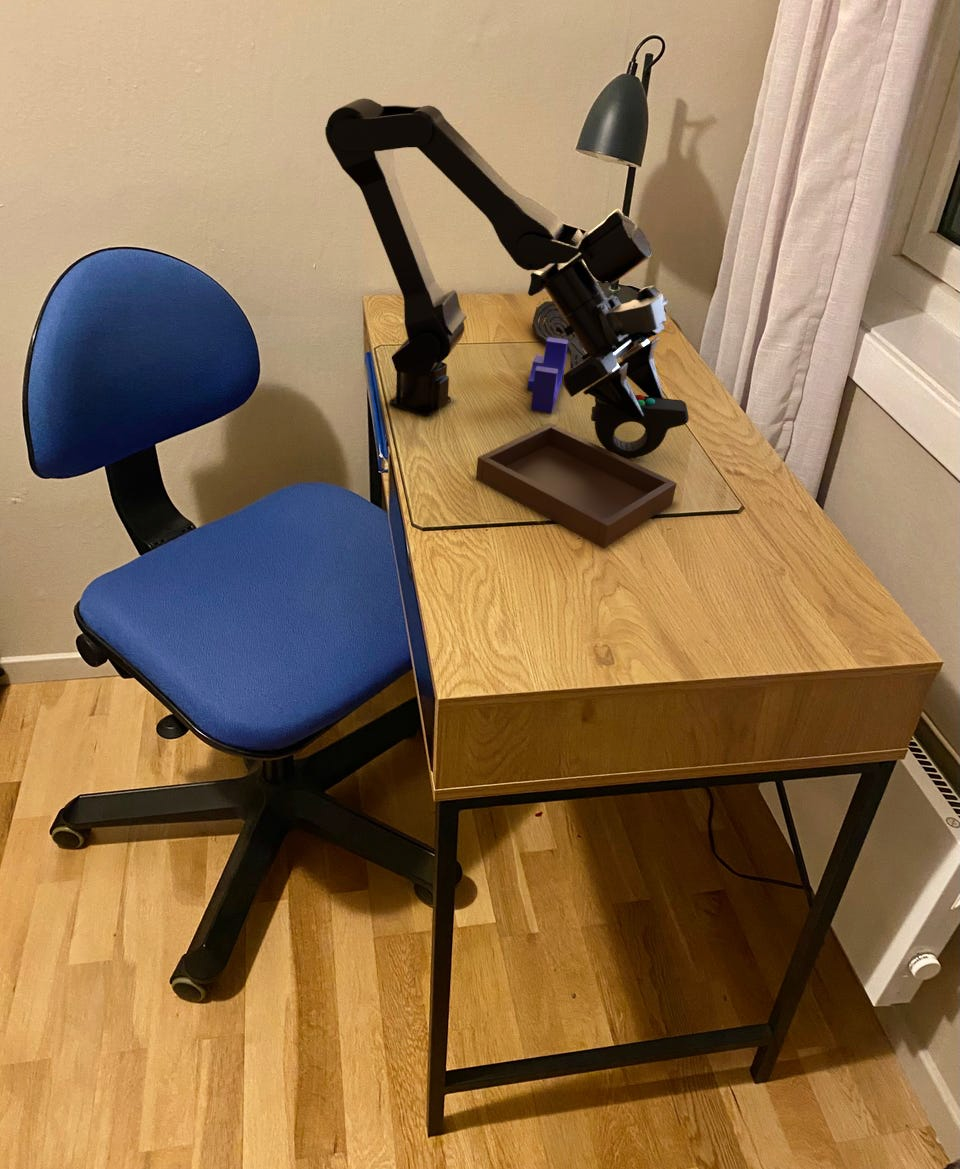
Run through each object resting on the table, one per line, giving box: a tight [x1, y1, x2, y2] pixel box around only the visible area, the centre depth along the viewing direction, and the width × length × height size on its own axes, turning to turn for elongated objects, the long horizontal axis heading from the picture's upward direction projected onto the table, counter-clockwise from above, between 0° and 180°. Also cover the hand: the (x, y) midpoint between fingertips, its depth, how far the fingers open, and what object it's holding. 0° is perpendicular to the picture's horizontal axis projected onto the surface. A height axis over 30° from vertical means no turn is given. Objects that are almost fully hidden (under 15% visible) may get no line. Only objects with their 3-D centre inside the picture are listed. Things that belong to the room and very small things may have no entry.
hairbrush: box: [531, 297, 586, 370], centre depth 151 cm, size 8×4×25 cm
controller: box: [590, 394, 690, 459], centre depth 123 cm, size 4×12×10 cm, turn 86°
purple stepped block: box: [527, 337, 568, 414], centre depth 138 cm, size 12×4×6 cm, turn 169°
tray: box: [475, 422, 677, 549], centre depth 117 cm, size 20×14×3 cm
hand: (650, 410), depth 121 cm, fingers closed on controller, 6 cm apart
